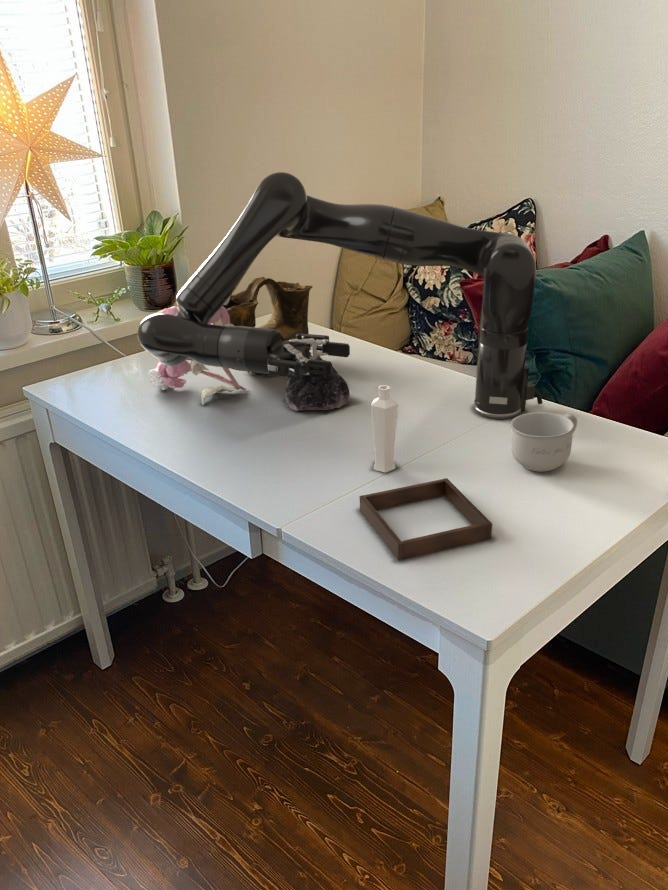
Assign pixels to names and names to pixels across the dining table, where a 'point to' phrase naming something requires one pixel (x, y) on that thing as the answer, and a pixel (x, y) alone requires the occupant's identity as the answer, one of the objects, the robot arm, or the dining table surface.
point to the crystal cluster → (317, 391)
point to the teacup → (542, 439)
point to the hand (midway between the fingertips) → (340, 359)
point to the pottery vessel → (285, 305)
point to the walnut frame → (427, 543)
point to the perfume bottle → (384, 429)
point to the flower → (194, 363)
